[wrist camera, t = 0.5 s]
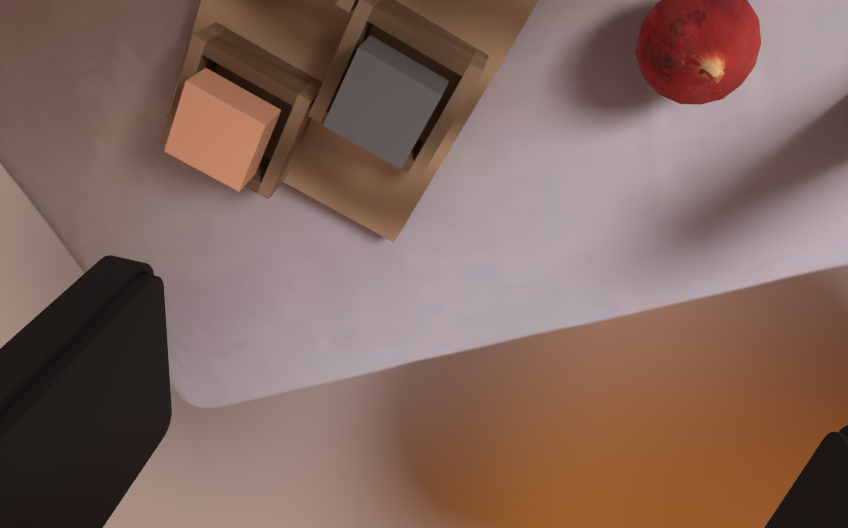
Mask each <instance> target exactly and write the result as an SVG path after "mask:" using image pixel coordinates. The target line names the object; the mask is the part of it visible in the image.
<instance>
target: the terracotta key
mask: <svg viewBox="0 0 848 528" xmlns="http://www.w3.org/2000/svg"><path fill="white" fill-rule="evenodd" d="M280 112H281V110H280V109H279V108H277V107H275V106H273V105H271V104H270V103H268V102H266V101H264V100H263V99H261V98H259V97H257V96H255V95H254V94H252V93H250V92H248V91H246V90H245V89H243V88H241V87H239V86H238V85H236V84H234V83H232V82H230V81H229V80H227V79H225V78H223V77H221V76H220V75H218V74H216V73H214V72H212V71H211V70H209V69H207V68H205V69H203V70H202V71H200V72H198V73H197V74H195V75H194V76H192V77H191V78H189V79H188V80H186V82H185V85H184V88H183V91H182V95H181V98H180V101H179V105H178V108H177V111H176V114H175V118H174V121H173V124H172V127H171V131H170V134H169V137H168V140H167V144H166V147H165V150H164V152H166V153H168V154H170V155H172V156H174V157H176V158H177V159H179V160H181V161H183V162H185V163H187V164H189V165H190V166H192V167H194V168H196V169H198V170H200V171H201V172H203V173H205V174H207V175H209V176H211V177H213V178H214V179H216V180H218V181H220V182H222V183H224V184H226V185H227V186H229V187H231V188H233V189H235V190H237V191H238V192H239V191H240V190H241V189H242V188H243V187H244V186H245V185H246V184H247V183H248V182H249V181H250V179H251V178H252V177H253V176H254V175H255V174H256V171H257V169H258V166H259V164H260V161H261V159H262V156H263V154H264V152H265V149H266V147H267V144H268V142H269V139H270V137H271V134H272V132H273V129H274V127H275V125H276V122H277V120H278V117H279V115H280Z"/></svg>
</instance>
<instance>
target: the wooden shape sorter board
mask: <svg viewBox="0 0 848 528" xmlns="http://www.w3.org/2000/svg"><path fill="white" fill-rule="evenodd" d="M537 2H538V0H201V2H200V6H199V9H198V12H197V16H196V19H195V22H194V26H193V29H192V33H191V36H190V39H189V43H188V46H187V49H186V53H185V56H184V59H183V63H182V66H181V69H180V73H179V76H178V80H177V83H176V86H175V90H174V93H173V96H172V100H171V103H170V106H169V110H168V113H167V116H166V118H167V122H166V125H165V129H164V132H163V135H162V139H161V141H162V142H164V143H166V144H167V140H168V137H169V134H170V131H171V127H172V124H173V121H174V118H175V114H176V111H177V108H178V105H179V101H180V98H181V95H182V91H183V88H184V85H185V82H186V80H188V79H189V78H191V77H192V76H194V75H195V74H197V73H198V72H200V71H202V70H203V69H205V68H207V69H209V70H211V71H212V72H214V73H216V74H218V75H220V76H221V77H223V78H225V79H227V80H229V81H230V82H232V83H234V84H236V85H238V86H239V87H241V88H243V89H245V90H246V91H248V92H250V93H252V94H254V95H255V96H257V97H259V98H261V99H263V100H264V101H266V102H268V103H270V104H271V105H273V106H275V107H277V108H279V109H280V110H281V112H280V115H279V117H278V120H277V122H276V125H275V127H274V129H273V132H272V134H271V137H270V139H269V142H268V144H267V147H266V149H265V152H264V154H263V156H262V159H261V161H260V164H259V166H258V169H257V171H256V174H255V175H254V176H253V177H252V178H251V179H250V181H249V182H248V183H247V184H246V185H245V187H247V188H249V189H250V190H252V191H254V192H256V193H258V194H260V195H262V196H263V197H265V198H267V199H269V198H270V197H271V195H272V194H273V193H274V192H275V191H276V189H277V188H278V187H279V186H280V185H281V183H282V182H284V183H286V184H288V185H290V186H292V187H293V188H295V189H297V190H299V191H301V192H302V193H304V194H306V195H308V196H310V197H312V198H313V199H315V200H317V201H319V202H321V203H323V204H324V205H326V206H328V207H330V208H332V209H334V210H335V211H337V212H339V213H341V214H343V215H345V216H346V217H348V218H350V219H352V220H354V221H356V222H357V223H359V224H361V225H363V226H365V227H366V228H368V229H370V230H372V231H374V232H376V233H377V234H379V235H381V236H383V237H385V238H387V239H388V240H390V241H392V242H395V240H396V238H397V237H398V235H399V233H400V232H401V230H402V228H403V227H404V225H405V223H406V222H407V220H408V218H409V217H410V215H411V213H412V212H413V210H414V208H415V207H416V205H417V203H418V201H419V200H420V198H421V196H422V195H423V193H424V191H425V190H426V188H427V186H428V185H429V183H430V181H431V180H432V178H433V176H434V175H435V173H436V171H437V170H438V168H439V166H440V165H441V163H442V161H443V160H444V158H445V156H446V155H447V153H448V151H449V150H450V148H451V146H452V144H453V143H454V141H455V139H456V138H457V136H458V134H459V133H460V131H461V129H462V128H463V126H464V124H465V123H466V121H467V119H468V118H469V116H470V114H471V113H472V111H473V109H474V108H475V106H476V104H477V103H478V101H479V99H480V98H481V96H482V94H483V93H484V91H485V89H486V87H487V86H488V84H489V82H490V81H491V79H492V77H493V76H494V74H495V72H496V71H497V69H498V67H499V66H500V64H501V62H502V61H503V59H504V57H505V56H506V54H507V52H508V51H509V49H510V47H511V46H512V44H513V42H514V41H515V39H516V37H517V36H518V34H519V32H520V30H521V29H522V27H523V25H524V24H525V22H526V20H527V19H528V17H529V15H530V14H531V12H532V10H533V9H534V7H535V5H536V4H537ZM370 35H371V36H373V37H375V38H376V39H378V40H380V41H381V42H383V43H385V44H387V45H388V46H390V47H392V48H393V49H395V50H397V51H399V52H400V53H402V54H404V55H405V56H407V57H409V58H411V59H412V60H414V61H416V62H417V63H419V64H421V65H423V66H424V67H426V68H428V69H430V70H431V71H433V72H435V73H436V74H438V75H440V76H442V77H443V78H445V79H447V80H448V81H449V83H448V85H447V87H446V89H445V91H444V93H443V95H442V97H441V99H440V101H439V102H438V104H437V106H436V108H435V109H434V111H433V113H432V115H431V117H430V118H429V120H428V122H427V124H426V126H425V127H424V129H423V131H422V133H421V135H420V136H419V138H418V140H417V142H416V143H415V145H414V147H413V149H412V151H411V152H410V154H409V156H408V158H407V160H406V161H405V163H404V165H403V167H402V169H399V168H398V167H396V166H394V165H392V164H390V163H389V162H387V161H385V160H383V159H381V158H380V157H378V156H376V155H374V154H373V153H371V152H369V151H367V150H365V149H364V148H362V147H360V146H358V145H357V144H355V143H353V142H351V141H349V140H348V139H346V138H344V137H342V136H340V135H339V134H337V133H335V132H333V131H332V130H330V129H328V128H326V127H324V126H323V124H324V122H325V120H326V117H327V115H328V113H329V111H330V109H331V106H332V104H333V102H334V100H335V98H336V95H337V93H338V91H339V89H340V87H341V84H342V82H343V80H344V78H345V76H346V74H347V71H348V69H349V67H350V65H351V63H352V60H353V58H354V56H355V54H356V52H357V49H358V47H359V46H360V45H361V44H362V43H363V42H364V41H365V40H366V39H367V38H368V37H369V36H370Z"/></svg>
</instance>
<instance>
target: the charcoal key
mask: <svg viewBox="0 0 848 528" xmlns="http://www.w3.org/2000/svg"><path fill="white" fill-rule="evenodd" d="M448 83H449V81H448V80H447V79H445V78H443V77H442V76H440V75H438V74H436V73H435V72H433V71H431V70H430V69H428V68H426V67H424V66H423V65H421V64H419V63H417V62H416V61H414V60H412V59H411V58H409V57H407V56H405V55H404V54H402V53H400V52H399V51H397V50H395V49H393V48H392V47H390V46H388V45H387V44H385V43H383V42H381V41H380V40H378V39H376V38H375V37H373V36H371V35H370V36H369V37H368V38H367V39H366V40H365V41H364V42H363V43H362V44H361V45H360V46H359V47H358V49H357V52H356V54H355V56H354V58H353V60H352V63H351V65H350V67H349V69H348V71H347V74H346V76H345V78H344V80H343V82H342V84H341V87H340V89H339V91H338V93H337V95H336V98H335V100H334V102H333V104H332V106H331V109H330V111H329V113H328V115H327V117H326V120H325V122H324V124H323V126H324V127H326V128H328V129H330V130H332V131H333V132H335V133H337V134H339V135H340V136H342V137H344V138H346V139H348V140H349V141H351V142H353V143H355V144H357V145H358V146H360V147H362V148H364V149H365V150H367V151H369V152H371V153H373V154H374V155H376V156H378V157H380V158H381V159H383V160H385V161H387V162H389V163H390V164H392V165H394V166H396V167H398V168H399V169H402V167H403V165H404V163H405V161H406V160H407V158H408V156H409V154H410V152H411V151H412V149H413V147H414V145H415V143H416V142H417V140H418V138H419V136H420V135H421V133H422V131H423V129H424V127H425V126H426V124H427V122H428V120H429V118H430V117H431V115H432V113H433V111H434V109H435V108H436V106H437V104H438V102H439V101H440V99H441V97H442V95H443V93H444V91H445V89H446V87H447V85H448Z"/></svg>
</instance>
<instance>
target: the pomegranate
mask: <svg viewBox="0 0 848 528" xmlns="http://www.w3.org/2000/svg"><path fill="white" fill-rule="evenodd" d="M760 45H761V38H760V27H759V19H758V17H757V15H756V13H755V12H754V10H753V9H752V7H751V6H750V4H749V3H748V1H747V0H661V1H660V2H658V3H657V4H656V5H655V7H654V8H653V10H652V11H651V12H650V14H649V15H648V16H647V18H646V19H645V20H644V22H643V23H642V27H641V31H640V36H639V41H638V45H637V50H636V54H637V58H638V62H639V65H640V69H641V73H642V75H643V77H644V79H645V80H646V81H647V82H648V83H649V84H650V85H651V86H652V87H653V89H654V90H655V91H656V92H657V93H658V94H660V95H662V96H664V97H666V98H669V99H671V100H673V101H675V102H677V103H679V104H704V103H708V102H712V101H716V100H720V99H723V98H724V97H726V96H727V95H728V94H730V93H731V92H732V91H734V90H735V89H736V88H738V87H739V86H740V85H741V84H742V83H743V82H744V80H745V79H746V77H747V76H748V75H749V73H750V72H751V70H752V69H753V68H754V66H755V64H756V60H757V56H758V53H759V49H760Z"/></svg>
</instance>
